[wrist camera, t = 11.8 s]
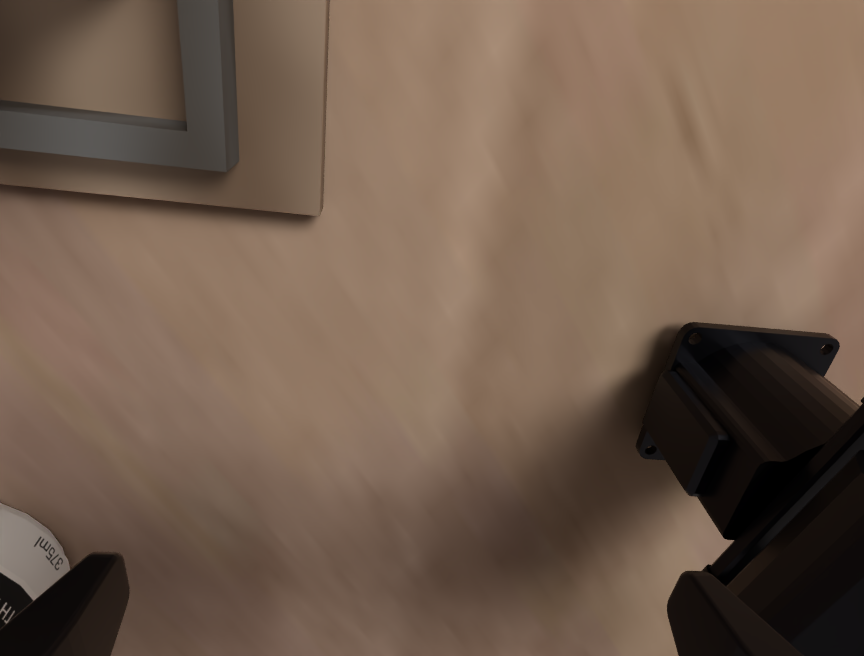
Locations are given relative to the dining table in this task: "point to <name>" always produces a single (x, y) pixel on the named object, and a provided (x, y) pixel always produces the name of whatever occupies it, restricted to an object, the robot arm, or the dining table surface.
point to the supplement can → (26, 561)
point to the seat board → (167, 99)
